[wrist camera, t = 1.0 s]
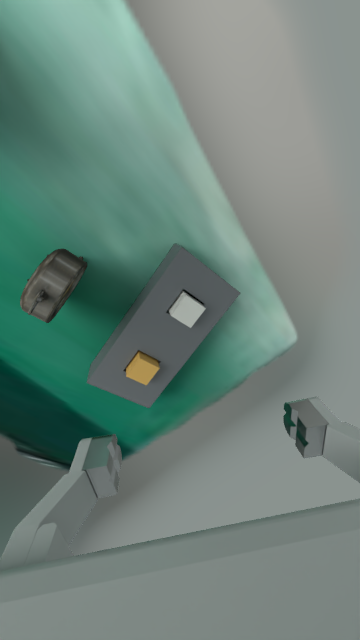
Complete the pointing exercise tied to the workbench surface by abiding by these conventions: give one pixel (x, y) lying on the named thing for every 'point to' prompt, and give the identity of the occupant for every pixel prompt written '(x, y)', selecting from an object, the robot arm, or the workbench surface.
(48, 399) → the workbench surface
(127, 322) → the control box
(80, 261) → the alarm clock
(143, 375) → the orange key
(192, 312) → the white key
